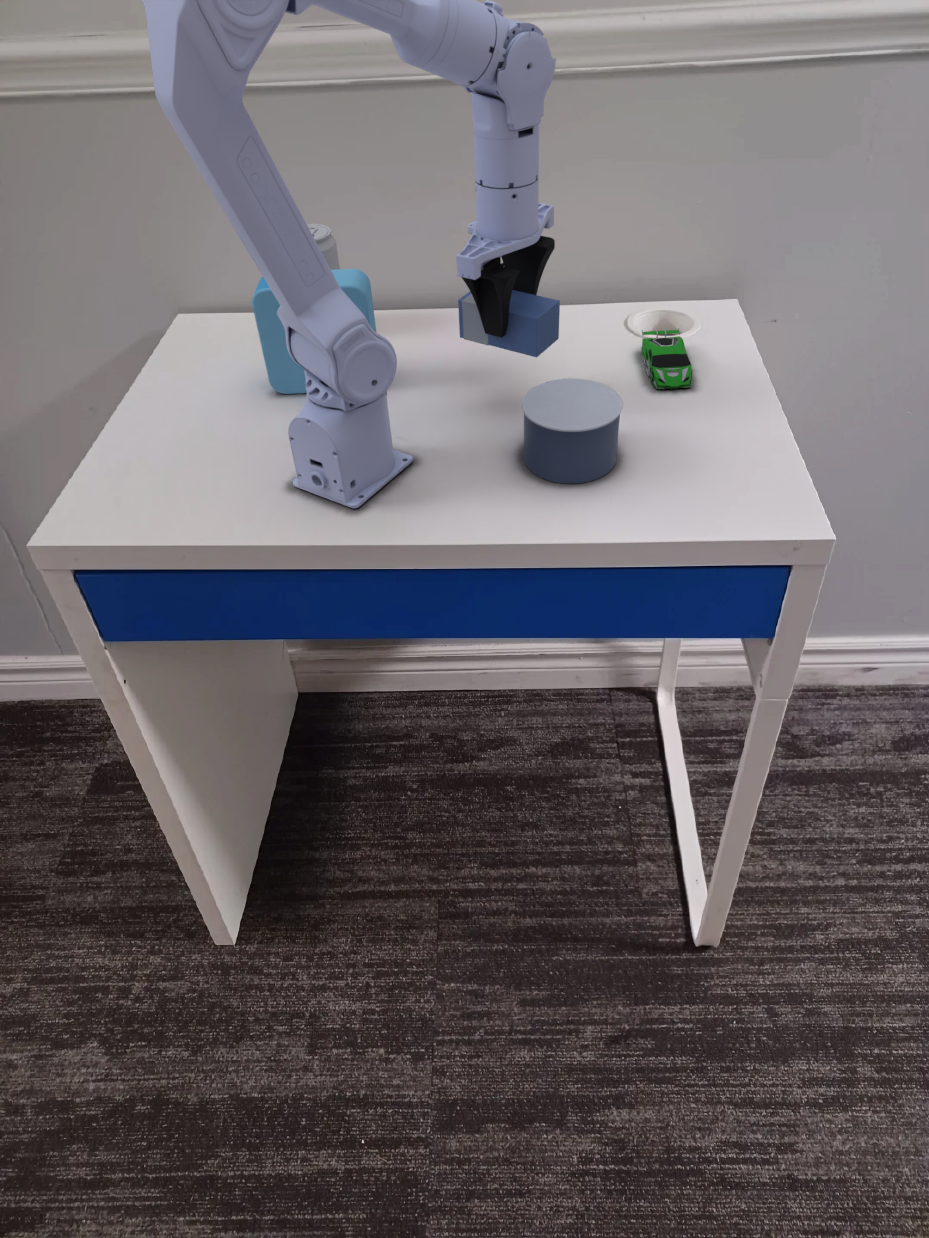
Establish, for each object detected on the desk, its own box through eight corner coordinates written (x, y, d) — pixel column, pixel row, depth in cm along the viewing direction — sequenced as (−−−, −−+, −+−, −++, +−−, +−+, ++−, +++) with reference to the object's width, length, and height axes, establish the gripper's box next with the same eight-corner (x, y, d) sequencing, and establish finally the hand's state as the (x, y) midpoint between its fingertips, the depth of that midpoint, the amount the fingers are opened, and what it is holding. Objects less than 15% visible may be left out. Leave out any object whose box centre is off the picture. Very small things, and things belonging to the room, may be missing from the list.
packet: (536, 358, 86) (537, 318, 84) (459, 338, 90) (457, 299, 87) (559, 339, 89) (560, 299, 86) (483, 320, 93) (482, 282, 90)
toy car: (696, 389, 95) (698, 370, 94) (651, 391, 96) (654, 372, 94) (679, 346, 103) (681, 327, 101) (638, 348, 103) (639, 329, 101)
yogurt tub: (590, 496, 82) (593, 440, 78) (504, 468, 86) (502, 413, 82) (634, 447, 88) (639, 393, 84) (551, 423, 92) (552, 370, 88)
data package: (381, 371, 102) (368, 267, 94) (378, 391, 99) (364, 285, 90) (278, 375, 102) (256, 272, 94) (271, 395, 99) (248, 290, 91)
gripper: (509, 150, 85) (511, 288, 95) (423, 197, 77) (434, 345, 86) (575, 159, 82) (570, 301, 92) (493, 210, 74) (497, 361, 83)
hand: (508, 323), depth 89 cm, fingers closed on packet, 4 cm apart
